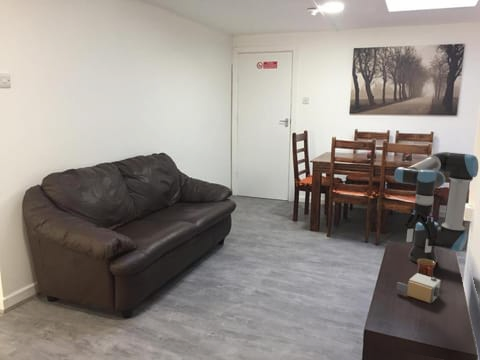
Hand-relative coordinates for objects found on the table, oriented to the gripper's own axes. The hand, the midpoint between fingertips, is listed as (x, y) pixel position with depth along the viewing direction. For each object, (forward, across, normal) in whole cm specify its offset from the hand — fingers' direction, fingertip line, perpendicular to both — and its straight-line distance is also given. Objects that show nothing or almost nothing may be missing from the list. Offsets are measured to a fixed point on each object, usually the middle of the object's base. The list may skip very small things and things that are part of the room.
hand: (418, 246), depth 187 cm
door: (+24, +3, -1) cm, 24 cm away
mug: (+25, -11, +16) cm, 31 cm away
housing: (+24, +2, +5) cm, 25 cm away
